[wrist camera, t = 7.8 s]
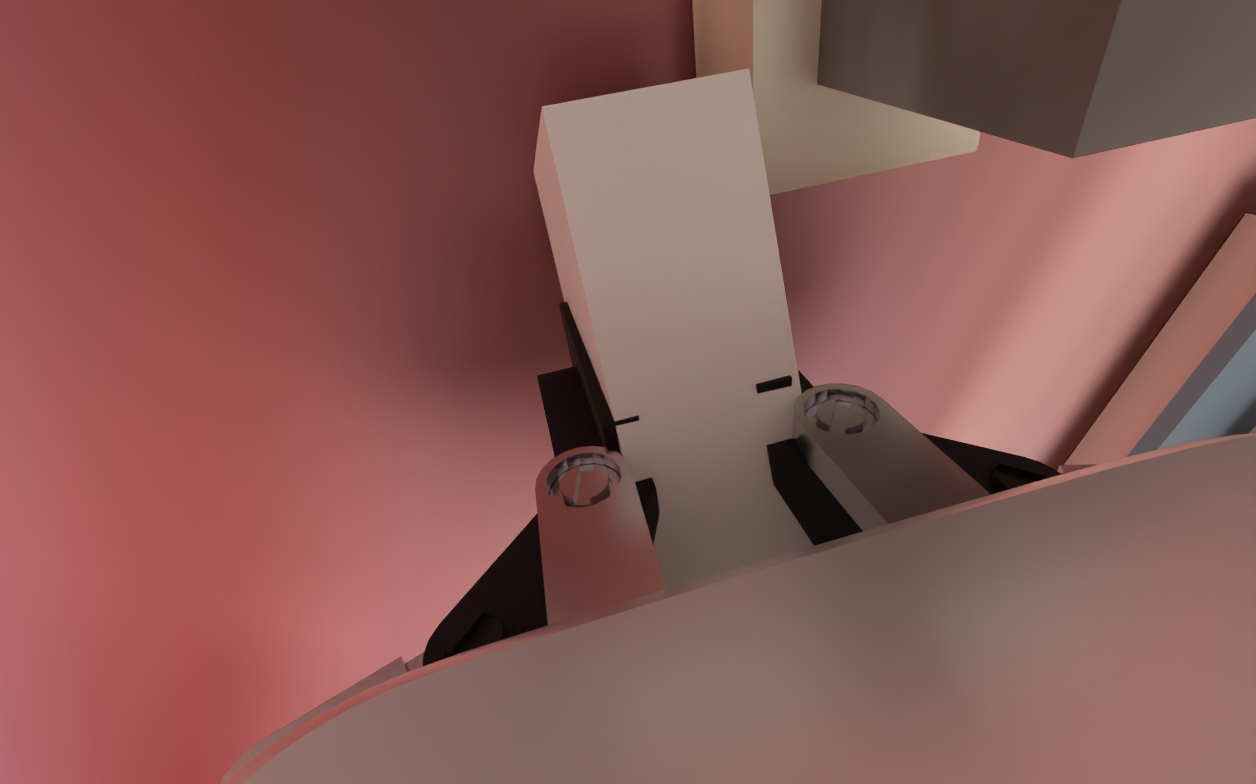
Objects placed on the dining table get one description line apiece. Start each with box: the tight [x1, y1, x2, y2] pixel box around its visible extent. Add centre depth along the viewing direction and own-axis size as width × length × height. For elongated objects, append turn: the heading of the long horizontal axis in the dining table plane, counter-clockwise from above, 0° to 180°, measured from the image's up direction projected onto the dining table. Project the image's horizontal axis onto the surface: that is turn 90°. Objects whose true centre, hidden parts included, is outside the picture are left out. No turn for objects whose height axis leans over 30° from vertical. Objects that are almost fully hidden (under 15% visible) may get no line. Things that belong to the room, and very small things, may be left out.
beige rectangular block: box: [533, 69, 814, 590], centre depth 10 cm, size 9×3×4 cm, turn 7°
